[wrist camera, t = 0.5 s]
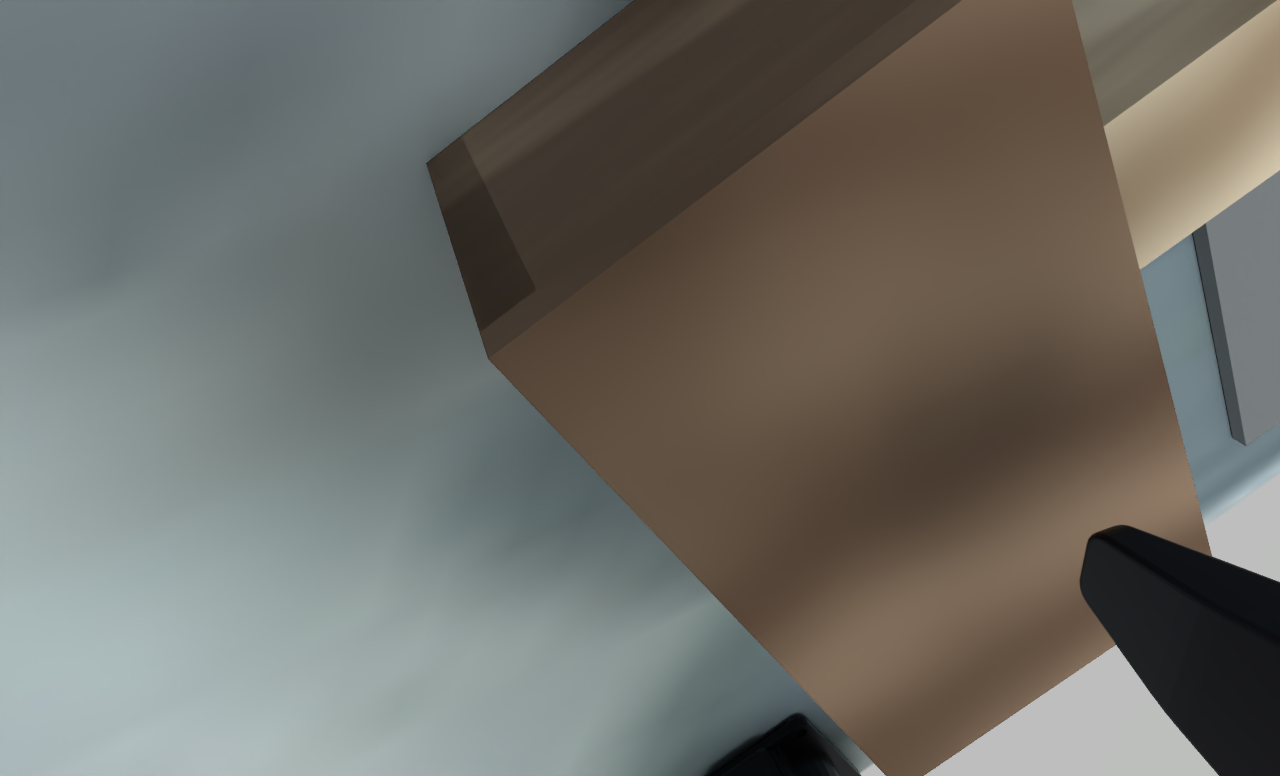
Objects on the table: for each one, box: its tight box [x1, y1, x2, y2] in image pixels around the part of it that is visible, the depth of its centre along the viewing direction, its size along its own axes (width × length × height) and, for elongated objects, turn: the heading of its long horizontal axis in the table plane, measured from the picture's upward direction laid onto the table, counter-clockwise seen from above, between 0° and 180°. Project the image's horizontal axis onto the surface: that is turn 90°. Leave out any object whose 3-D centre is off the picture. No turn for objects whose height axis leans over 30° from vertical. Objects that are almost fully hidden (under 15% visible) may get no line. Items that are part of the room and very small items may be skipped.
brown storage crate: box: [426, 0, 1212, 776], centre depth 19 cm, size 16×9×9 cm, turn 33°
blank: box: [1072, 0, 1280, 269], centre depth 20 cm, size 4×14×6 cm, turn 123°
